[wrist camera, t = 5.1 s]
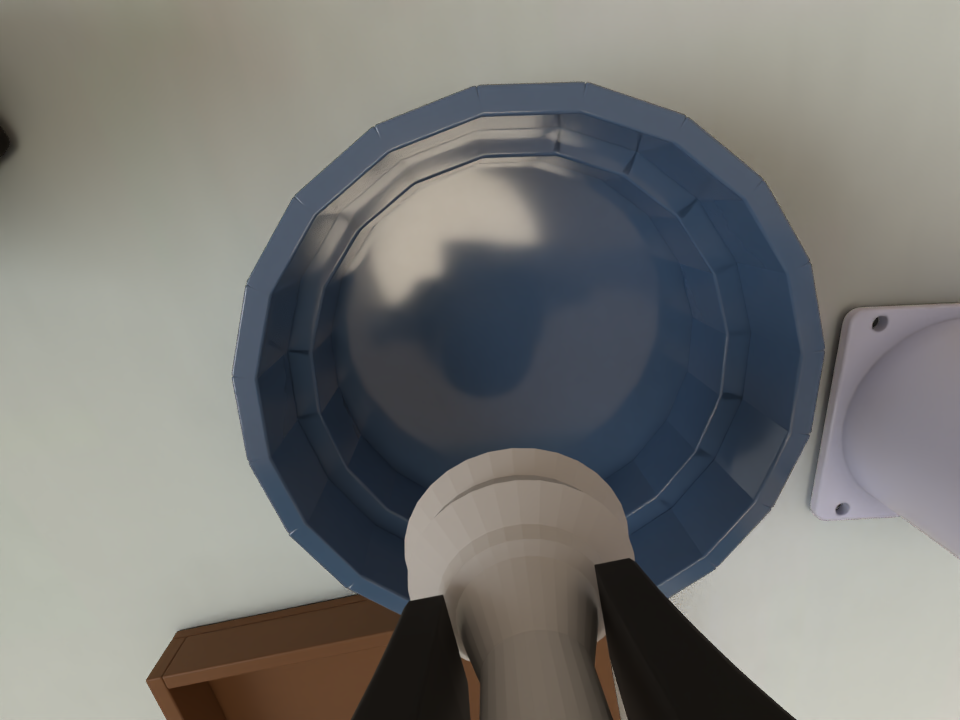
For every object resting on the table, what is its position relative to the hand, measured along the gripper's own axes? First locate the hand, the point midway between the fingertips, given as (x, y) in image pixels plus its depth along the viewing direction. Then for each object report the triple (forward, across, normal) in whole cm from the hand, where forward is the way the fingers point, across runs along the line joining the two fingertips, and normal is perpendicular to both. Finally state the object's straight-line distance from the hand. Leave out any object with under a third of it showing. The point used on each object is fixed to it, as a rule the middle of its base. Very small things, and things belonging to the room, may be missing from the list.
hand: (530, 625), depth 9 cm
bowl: (+10, -1, -2) cm, 10 cm away
